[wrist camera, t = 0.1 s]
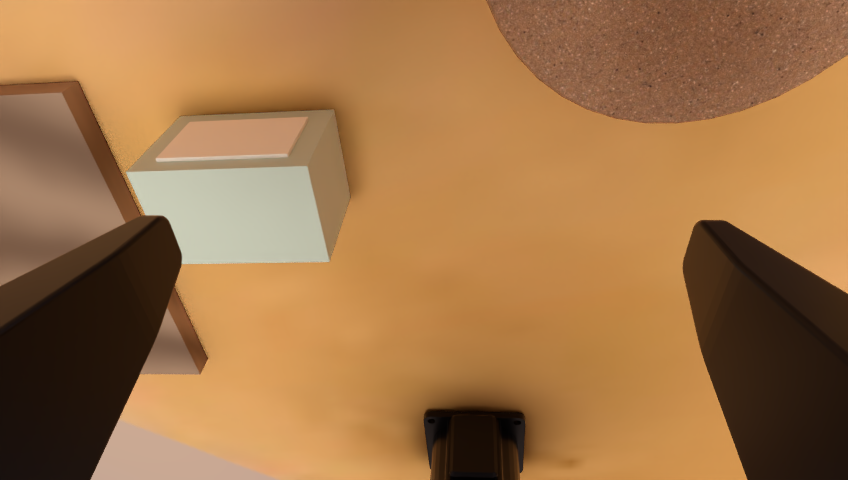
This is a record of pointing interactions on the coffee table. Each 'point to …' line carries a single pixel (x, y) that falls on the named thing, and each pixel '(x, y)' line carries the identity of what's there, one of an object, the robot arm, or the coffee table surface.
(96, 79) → the coffee table surface
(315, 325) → the coffee table surface
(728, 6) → the lidded jar
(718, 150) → the coffee table surface
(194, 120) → the tea tin
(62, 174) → the shelf board
